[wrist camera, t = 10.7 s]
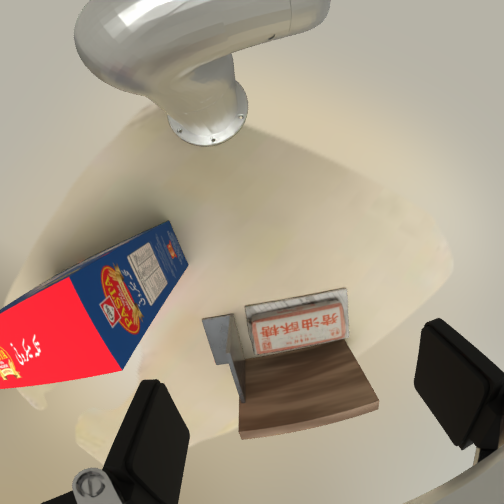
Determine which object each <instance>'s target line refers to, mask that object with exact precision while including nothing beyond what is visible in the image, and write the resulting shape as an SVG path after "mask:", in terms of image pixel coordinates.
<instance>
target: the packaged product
mask: <svg viewBox="0 0 504 504" xmlns="http://www.w3.org/2000/svg"><path fill="white" fill-rule="evenodd" d="M245 311H246V316H247V325H248V332H249V336H250V339H251V341H252V346H253V351H254V354H255V355H259V354H265V353H273V352H278V351H284V350H289V349H295V348H300V347H306V346H311V345H316V344H320V343H326V342H331V341H336V340H340V339H344V338H348V337H349V319H348V297H347V289H346V288H343V289H337V290H332V291H328V292H323V293H319V294H314V295H308V296H301V297H295V298H288V299H283V300H279V301H275V302H268V303H261V304H256V305H251V306H245Z"/></svg>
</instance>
